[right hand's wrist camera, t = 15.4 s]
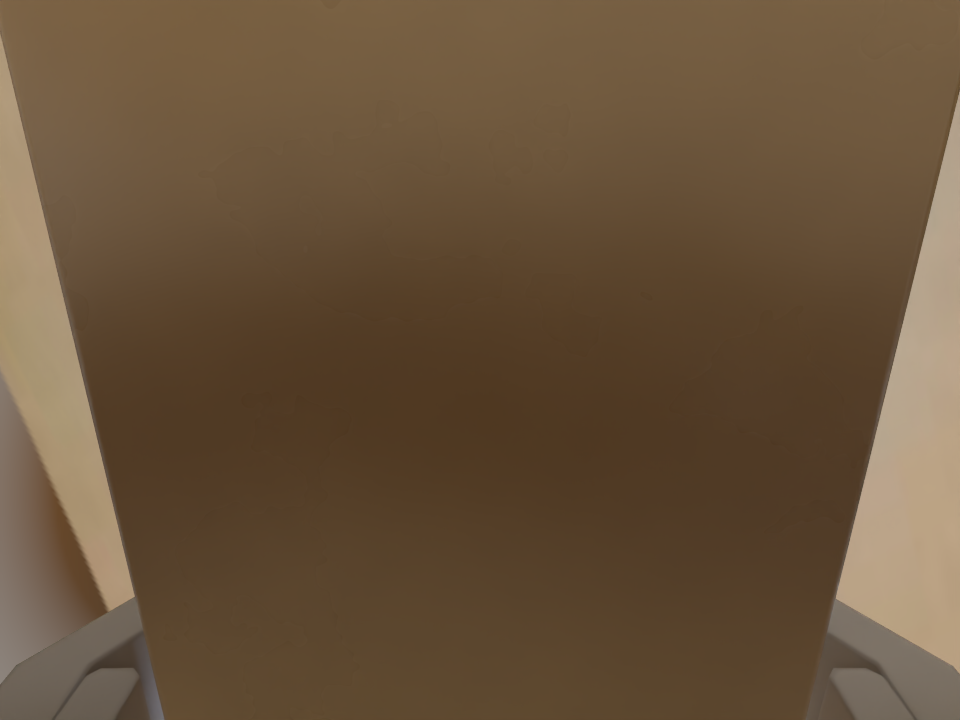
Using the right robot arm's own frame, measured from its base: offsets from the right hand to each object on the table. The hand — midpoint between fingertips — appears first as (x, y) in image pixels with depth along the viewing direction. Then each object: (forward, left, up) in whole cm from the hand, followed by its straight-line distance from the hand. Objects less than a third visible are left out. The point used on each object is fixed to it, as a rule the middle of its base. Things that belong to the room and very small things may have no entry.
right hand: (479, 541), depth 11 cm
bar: (+8, +4, -3) cm, 9 cm away
